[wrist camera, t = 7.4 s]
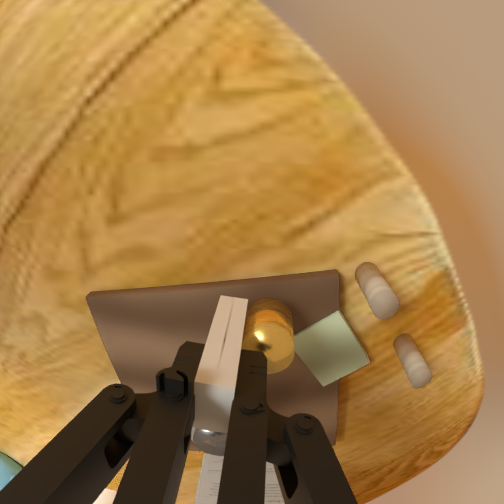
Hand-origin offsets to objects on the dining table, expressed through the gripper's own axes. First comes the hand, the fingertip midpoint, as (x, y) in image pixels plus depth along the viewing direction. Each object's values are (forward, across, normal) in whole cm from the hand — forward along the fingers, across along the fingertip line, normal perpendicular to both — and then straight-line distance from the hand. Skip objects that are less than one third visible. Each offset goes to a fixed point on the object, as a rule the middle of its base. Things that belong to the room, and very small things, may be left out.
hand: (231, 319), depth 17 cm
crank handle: (+1, +1, -5) cm, 5 cm away
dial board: (+3, +2, -6) cm, 7 cm away
